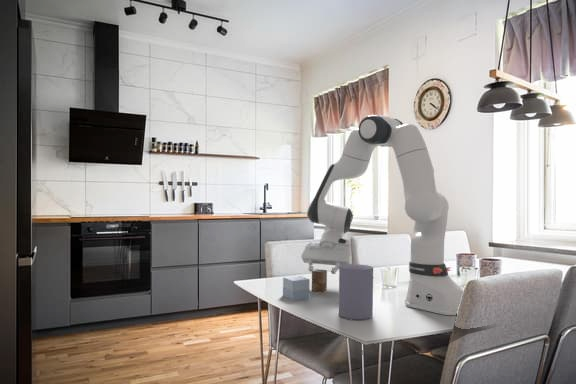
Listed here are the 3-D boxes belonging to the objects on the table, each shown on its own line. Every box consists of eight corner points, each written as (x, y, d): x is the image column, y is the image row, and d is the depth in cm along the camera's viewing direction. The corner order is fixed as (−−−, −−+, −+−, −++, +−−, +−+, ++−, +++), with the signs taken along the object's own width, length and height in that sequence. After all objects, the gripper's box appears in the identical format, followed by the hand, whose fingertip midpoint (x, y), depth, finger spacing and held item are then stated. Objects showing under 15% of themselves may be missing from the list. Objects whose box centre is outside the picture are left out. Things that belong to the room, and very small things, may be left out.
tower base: (309, 298, 153) (309, 288, 153) (293, 300, 149) (293, 290, 149) (298, 294, 159) (298, 285, 159) (282, 296, 155) (282, 287, 155)
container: (379, 316, 131) (379, 267, 131) (359, 322, 124) (359, 270, 124) (352, 309, 138) (352, 263, 138) (331, 315, 131) (332, 266, 131)
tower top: (309, 289, 153) (309, 279, 153) (292, 290, 150) (292, 280, 150) (299, 285, 159) (299, 275, 159) (283, 286, 156) (283, 277, 156)
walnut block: (326, 290, 165) (326, 270, 166) (322, 293, 161) (323, 271, 161) (315, 289, 167) (316, 269, 167) (311, 291, 163) (311, 270, 163)
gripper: (305, 238, 178) (295, 264, 169) (352, 241, 170) (344, 269, 161) (308, 247, 182) (299, 274, 173) (355, 251, 174) (348, 279, 165)
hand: (321, 271), depth 167 cm, fingers open, 8 cm apart
